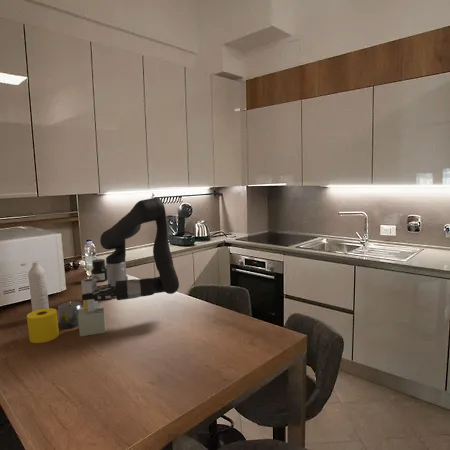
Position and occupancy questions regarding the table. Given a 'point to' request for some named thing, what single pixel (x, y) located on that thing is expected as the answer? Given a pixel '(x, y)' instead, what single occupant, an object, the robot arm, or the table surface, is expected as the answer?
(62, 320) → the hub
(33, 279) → the water bottle
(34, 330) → the yellow toilet paper roll
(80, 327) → the sage stand
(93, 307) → the sleeve
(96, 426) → the table surface
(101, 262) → the ink bottle
